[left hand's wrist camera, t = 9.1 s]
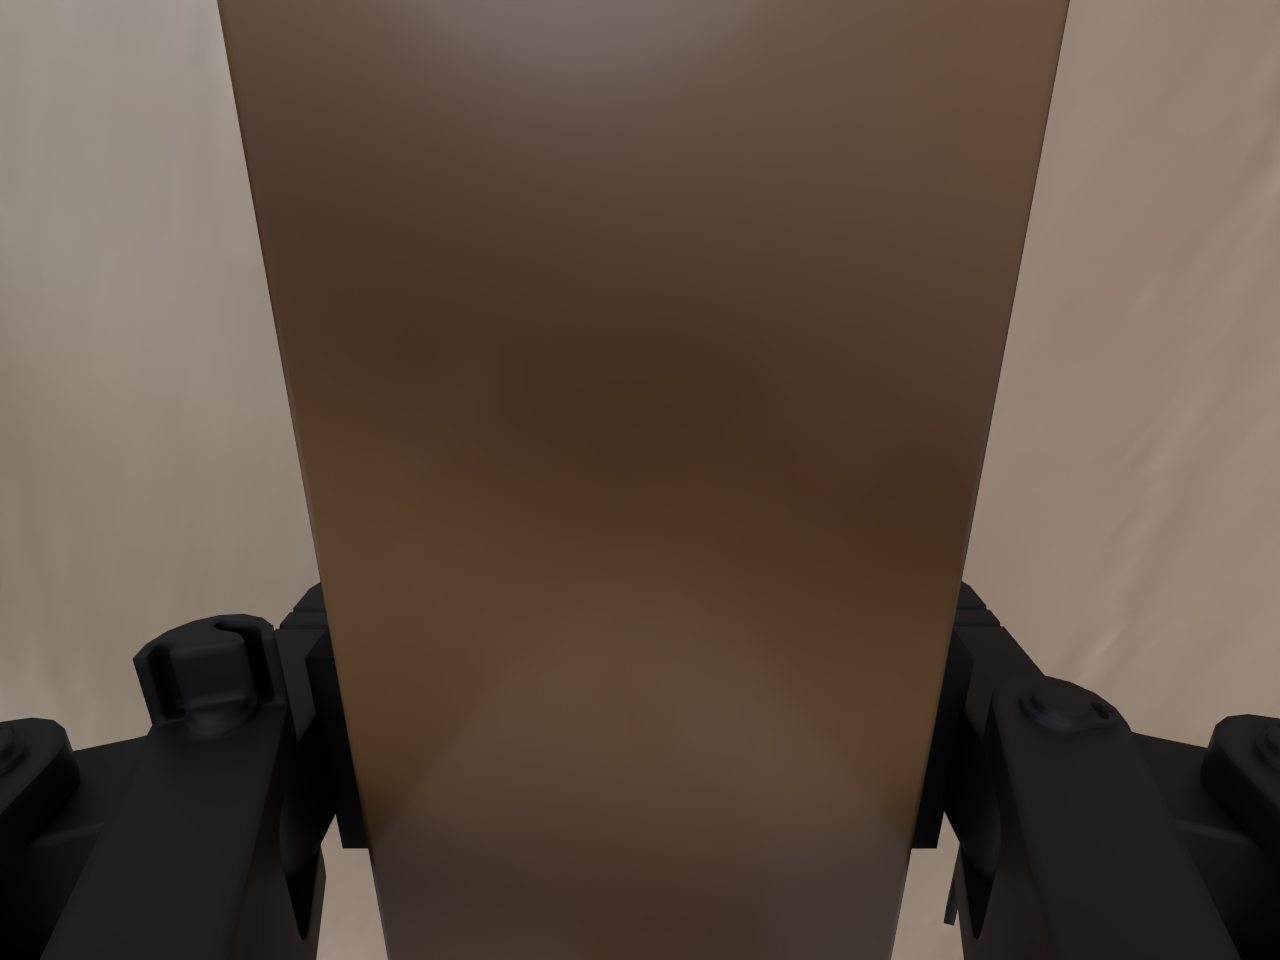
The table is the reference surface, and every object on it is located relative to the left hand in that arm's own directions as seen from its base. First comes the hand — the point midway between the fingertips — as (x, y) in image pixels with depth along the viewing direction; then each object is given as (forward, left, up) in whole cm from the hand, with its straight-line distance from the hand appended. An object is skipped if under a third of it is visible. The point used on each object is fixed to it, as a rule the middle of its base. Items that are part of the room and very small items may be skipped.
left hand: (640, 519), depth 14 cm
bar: (+33, +15, -1) cm, 36 cm away
